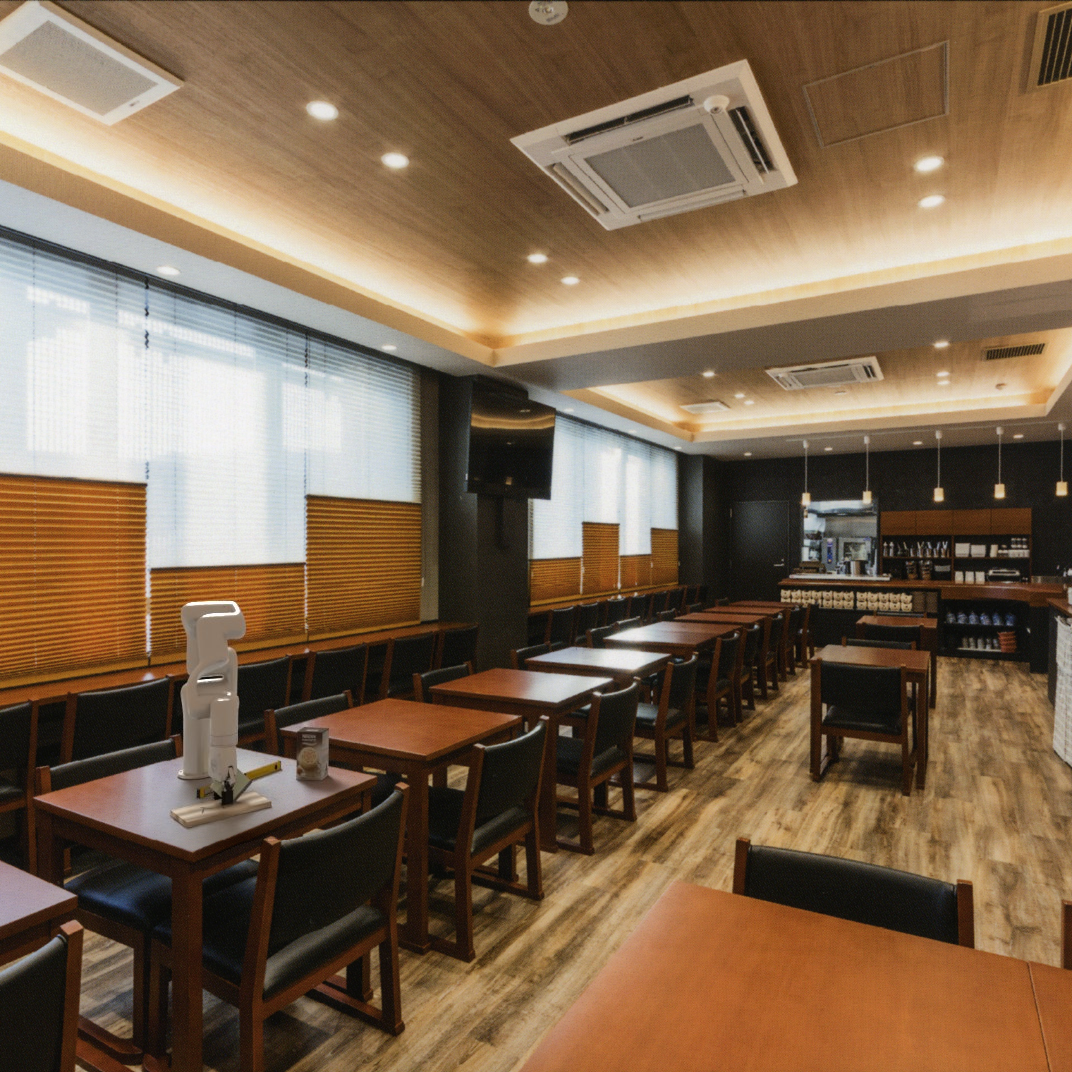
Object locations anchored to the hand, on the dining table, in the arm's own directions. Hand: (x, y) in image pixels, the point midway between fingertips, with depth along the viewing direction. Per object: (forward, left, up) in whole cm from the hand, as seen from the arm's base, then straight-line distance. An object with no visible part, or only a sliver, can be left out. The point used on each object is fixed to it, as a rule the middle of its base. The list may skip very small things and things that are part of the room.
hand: (223, 801), depth 215 cm
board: (+1, -1, -3) cm, 3 cm away
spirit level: (-21, +14, -3) cm, 26 cm away
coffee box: (-10, +33, -3) cm, 35 cm away
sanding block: (0, +5, +2) cm, 5 cm away
